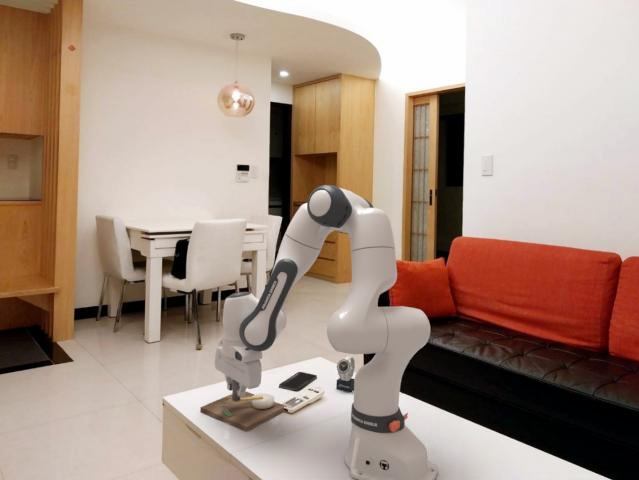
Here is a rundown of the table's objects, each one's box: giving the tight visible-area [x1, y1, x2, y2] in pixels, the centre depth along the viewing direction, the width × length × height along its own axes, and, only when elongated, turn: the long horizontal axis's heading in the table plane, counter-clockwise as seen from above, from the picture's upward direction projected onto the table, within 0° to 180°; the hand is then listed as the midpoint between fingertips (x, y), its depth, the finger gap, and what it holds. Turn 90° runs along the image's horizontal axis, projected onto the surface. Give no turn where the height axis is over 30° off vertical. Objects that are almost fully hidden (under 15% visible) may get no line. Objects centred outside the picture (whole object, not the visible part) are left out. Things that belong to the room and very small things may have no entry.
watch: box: [335, 355, 356, 393], centre depth 166 cm, size 6×8×11 cm
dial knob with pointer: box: [229, 380, 275, 409], centre depth 147 cm, size 14×7×8 cm, turn 110°
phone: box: [278, 371, 318, 393], centre depth 171 cm, size 8×1×15 cm
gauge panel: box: [200, 390, 287, 433], centre depth 147 cm, size 19×17×2 cm
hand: (235, 392), depth 144 cm, fingers open, 4 cm apart
